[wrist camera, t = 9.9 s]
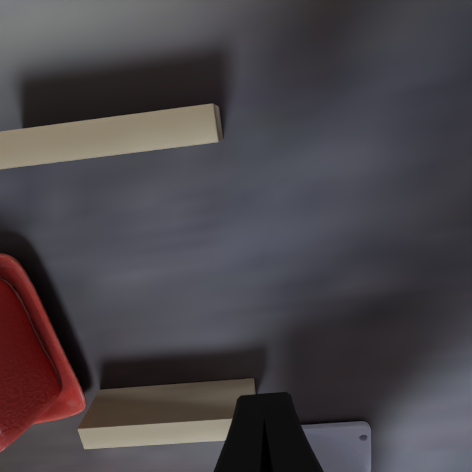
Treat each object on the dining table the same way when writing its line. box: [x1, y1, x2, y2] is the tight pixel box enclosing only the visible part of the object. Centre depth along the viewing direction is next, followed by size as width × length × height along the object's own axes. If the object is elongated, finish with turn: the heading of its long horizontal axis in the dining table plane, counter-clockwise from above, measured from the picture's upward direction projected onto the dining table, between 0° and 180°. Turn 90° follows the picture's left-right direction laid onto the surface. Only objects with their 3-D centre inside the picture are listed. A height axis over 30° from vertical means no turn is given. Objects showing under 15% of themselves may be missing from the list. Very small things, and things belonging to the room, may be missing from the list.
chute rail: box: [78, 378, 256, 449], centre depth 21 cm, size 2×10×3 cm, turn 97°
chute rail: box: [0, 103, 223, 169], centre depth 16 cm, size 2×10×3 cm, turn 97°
